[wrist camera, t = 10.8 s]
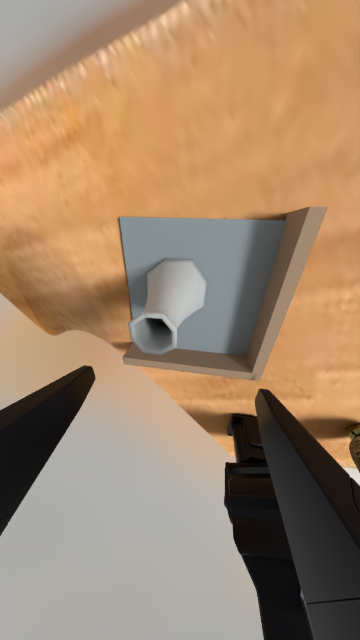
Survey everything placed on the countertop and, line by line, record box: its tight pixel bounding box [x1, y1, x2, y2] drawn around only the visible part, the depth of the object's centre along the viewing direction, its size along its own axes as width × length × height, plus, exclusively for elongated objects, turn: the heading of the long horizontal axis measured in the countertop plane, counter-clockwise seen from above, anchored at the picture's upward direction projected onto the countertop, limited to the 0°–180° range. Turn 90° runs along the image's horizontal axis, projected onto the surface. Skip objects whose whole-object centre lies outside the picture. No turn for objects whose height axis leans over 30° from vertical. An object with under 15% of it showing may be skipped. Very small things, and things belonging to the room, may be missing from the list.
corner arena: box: [119, 207, 328, 381], centre depth 18 cm, size 18×18×4 cm
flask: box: [128, 258, 207, 355], centre depth 14 cm, size 7×7×10 cm
